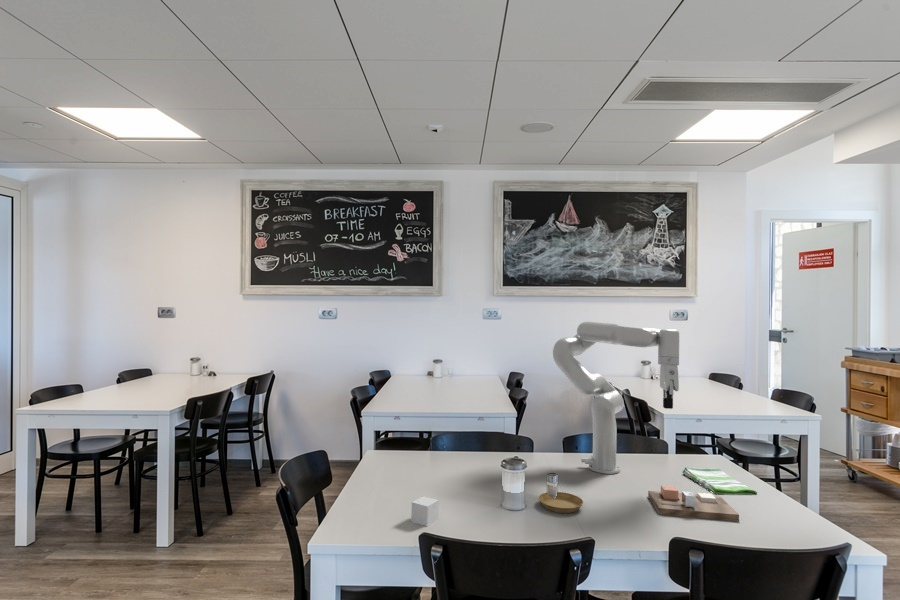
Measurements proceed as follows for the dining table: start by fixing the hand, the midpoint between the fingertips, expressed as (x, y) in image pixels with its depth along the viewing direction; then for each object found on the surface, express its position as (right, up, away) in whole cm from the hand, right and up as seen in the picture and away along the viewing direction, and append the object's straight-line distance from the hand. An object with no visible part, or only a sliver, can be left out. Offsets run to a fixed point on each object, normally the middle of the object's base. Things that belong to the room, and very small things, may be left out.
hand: (667, 408), depth 192 cm
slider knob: (-6, -26, -29) cm, 39 cm away
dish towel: (+20, -30, 0) cm, 36 cm away
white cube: (-93, -27, -39) cm, 104 cm away
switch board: (-3, -28, -25) cm, 38 cm away
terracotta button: (-9, -26, -21) cm, 34 cm away
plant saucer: (-48, -28, -26) cm, 61 cm away
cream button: (+3, -28, -23) cm, 36 cm away
